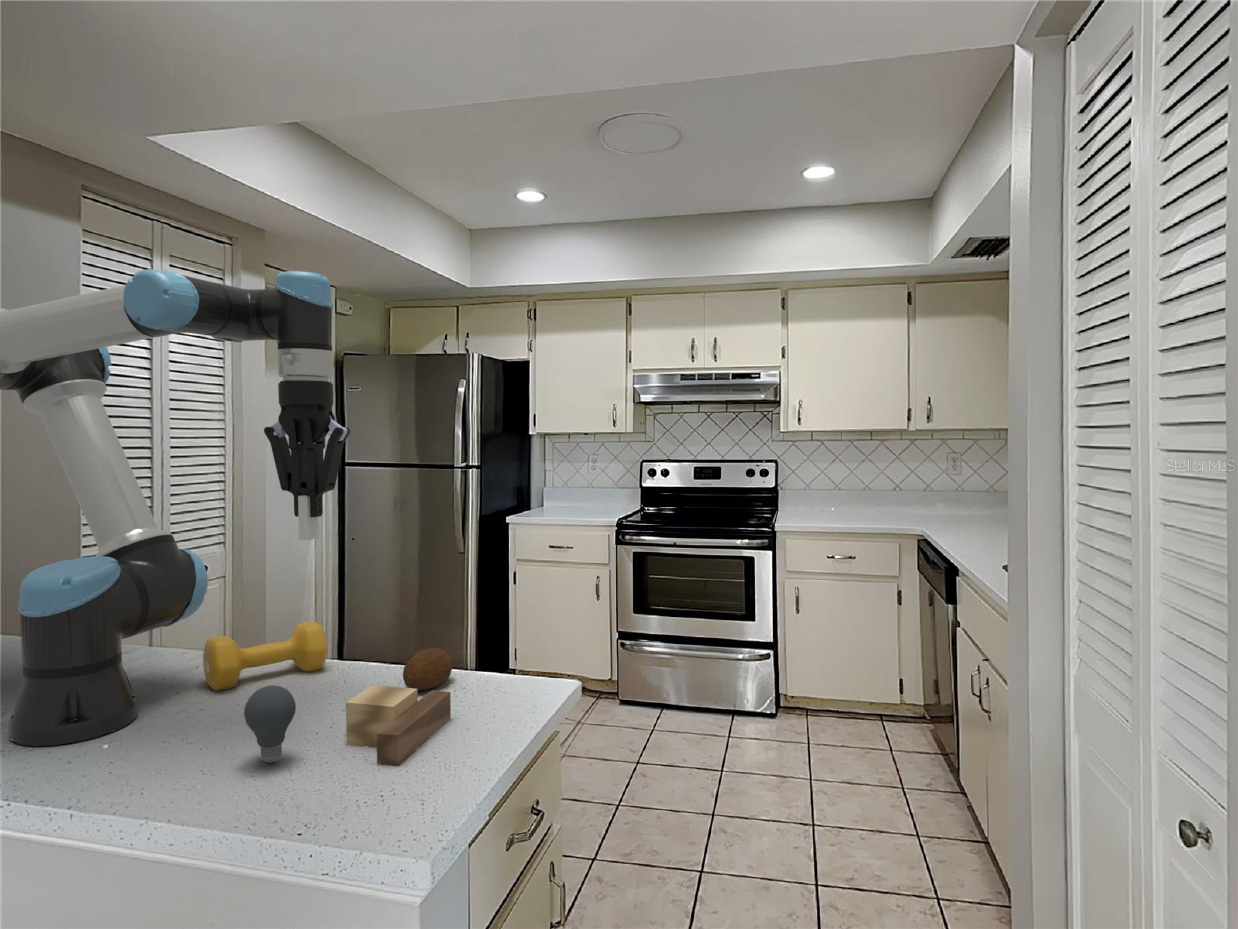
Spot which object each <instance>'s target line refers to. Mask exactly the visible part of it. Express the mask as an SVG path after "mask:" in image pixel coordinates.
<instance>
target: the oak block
mask: <svg viewBox="0 0 1238 929" xmlns="http://www.w3.org/2000/svg"><path fill="white" fill-rule="evenodd" d="M417 701H418V691H417V689H413V688H408V687H400V686H399V687H398V686H387V685H376V684H375V685H374V684H371V686H369V687H368V688H366V689H364V690H363V691H361V692H359V693H358V694H357V695H355V696H354V697H352V698H351V699H349V700H347V701H346V702H345V715H346V716H345V722H346V723H345V725H346V726H345V727H346V728H345V729H346V730H345V731H346V736H345V737H346V745H347V746H355V747H363V746H368V747H367V748H373V747H377V733H378V732H379V731H380V730H382V729H383V728H384V727H385V726H387V725H388V724H389V723H391V722H392V721H393V720H394V719H396V718H397V717H398V716H399V715H401V714H402V713H403V712H405V711H406V710H407V709H408V708H410V707H411V706H412V705H414V704H415V703H416V702H417Z"/></svg>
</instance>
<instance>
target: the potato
mask: <svg viewBox="0 0 1238 929" xmlns="http://www.w3.org/2000/svg"><path fill="white" fill-rule="evenodd" d="M452 670H453V661H452V657H451V656H450V654H449V653H448V652H447V651H445V650H444V649H441V648H437V647H430V648H429V647H428V648H425V649H421V650H419V651H418V652H416V653H415V654H414V655H413V656H412V657H411V658H410V659H409V660H408V661H407V663H406V664H405V665H404V666H403V670H402V679H403V681H404V682H403V683H404V685H405V686H406V688H413V689H417V692H421V691H426V690H429V689H432V688H434V687H437V686H441V685H442V684H444V683H446V682H447V681H448V680H449V678H450V677H451V674H452Z"/></svg>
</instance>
